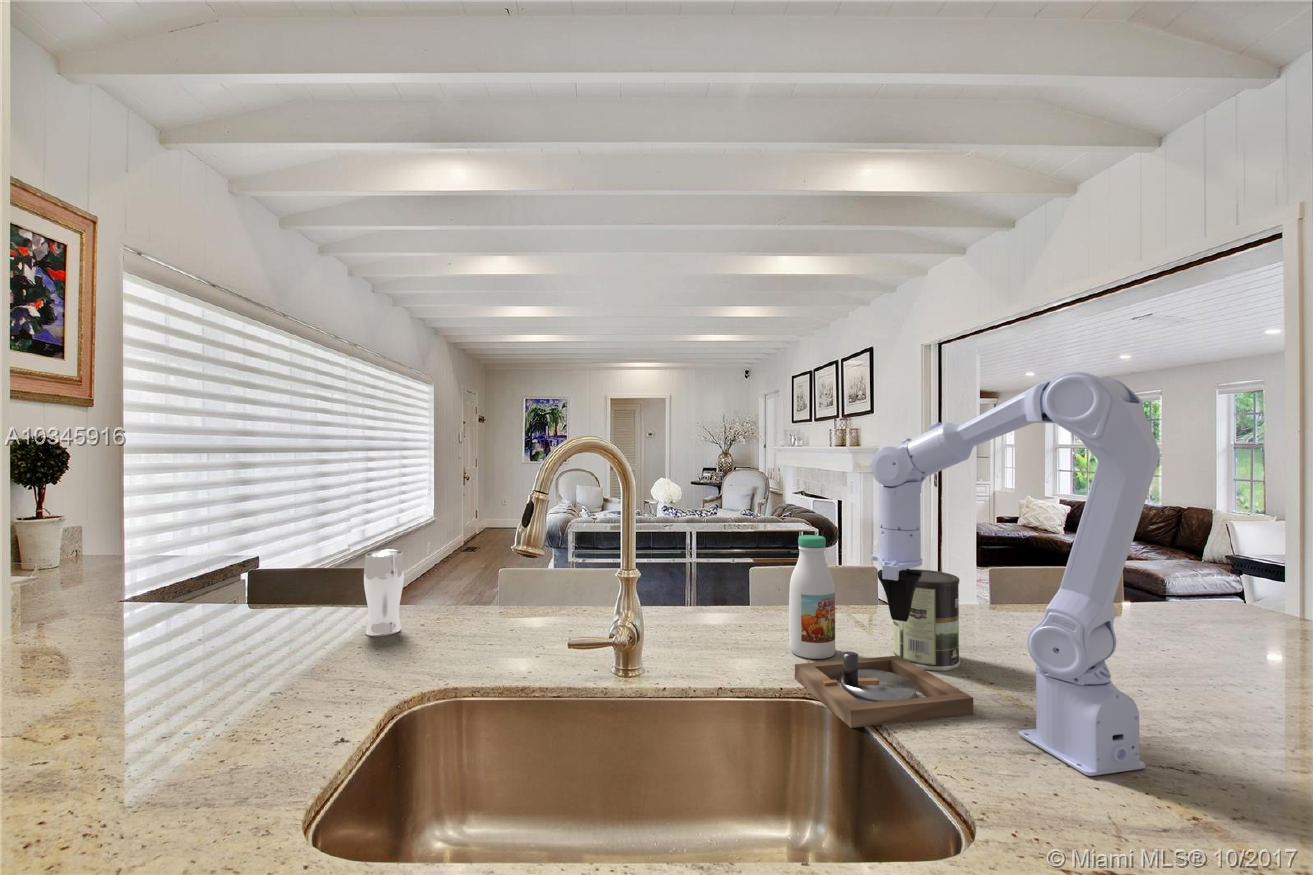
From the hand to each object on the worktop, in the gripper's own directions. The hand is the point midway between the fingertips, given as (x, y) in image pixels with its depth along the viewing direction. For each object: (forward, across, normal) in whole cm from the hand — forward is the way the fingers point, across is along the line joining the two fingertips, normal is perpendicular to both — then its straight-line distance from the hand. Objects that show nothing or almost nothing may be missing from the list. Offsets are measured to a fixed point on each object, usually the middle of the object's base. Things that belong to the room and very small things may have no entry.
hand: (899, 619), depth 87 cm
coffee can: (+10, -14, +1) cm, 17 cm away
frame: (+10, +5, -2) cm, 11 cm away
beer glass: (+10, +27, -88) cm, 92 cm away
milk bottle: (+10, -7, -16) cm, 20 cm away
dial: (+10, +5, -2) cm, 11 cm away
